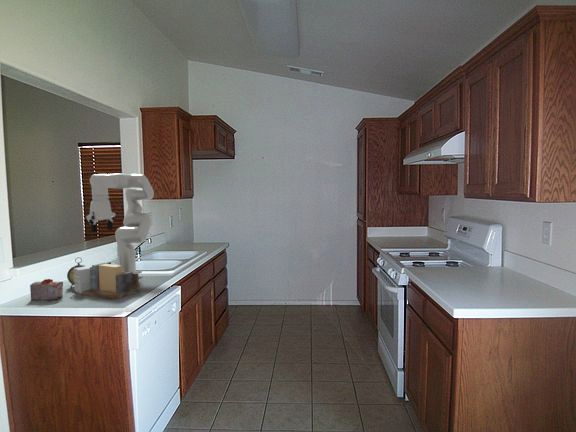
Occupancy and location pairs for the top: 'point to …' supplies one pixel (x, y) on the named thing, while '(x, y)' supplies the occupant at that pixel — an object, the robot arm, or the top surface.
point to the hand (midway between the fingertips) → (102, 230)
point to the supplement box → (82, 279)
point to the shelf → (124, 284)
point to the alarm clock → (71, 273)
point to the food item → (46, 290)
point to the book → (108, 276)
